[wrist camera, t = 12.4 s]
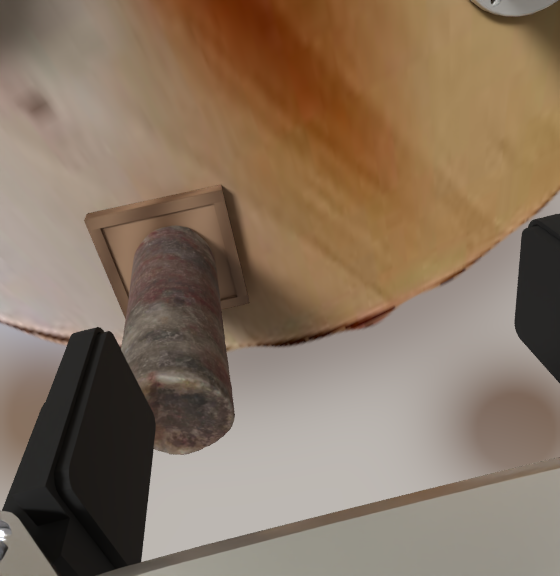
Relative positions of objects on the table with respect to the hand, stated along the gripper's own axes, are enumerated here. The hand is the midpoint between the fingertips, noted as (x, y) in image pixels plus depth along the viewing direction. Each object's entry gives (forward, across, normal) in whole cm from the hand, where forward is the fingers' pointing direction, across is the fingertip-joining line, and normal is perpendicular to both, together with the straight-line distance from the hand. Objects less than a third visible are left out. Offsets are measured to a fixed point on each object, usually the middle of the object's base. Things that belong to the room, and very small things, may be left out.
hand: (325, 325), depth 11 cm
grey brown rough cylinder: (+32, +10, +14) cm, 36 cm away
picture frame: (+33, +10, +14) cm, 37 cm away
